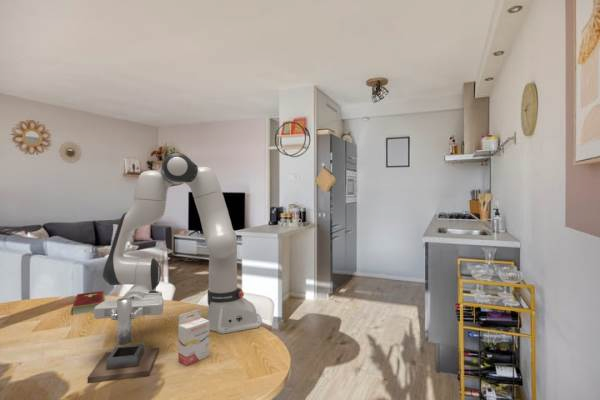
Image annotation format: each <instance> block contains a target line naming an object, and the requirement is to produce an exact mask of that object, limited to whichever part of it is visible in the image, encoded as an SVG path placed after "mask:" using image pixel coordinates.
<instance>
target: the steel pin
mask: <svg viewBox="0 0 600 400" xmlns="http://www.w3.org/2000/svg"><path fill="white" fill-rule="evenodd" d="M116 300H117V320H116V343H117V345H118V346H126V345H128V344H130V343H132V342H133V319H131V313H132V299H131V298H122V297H121V298H119V299H116Z"/></svg>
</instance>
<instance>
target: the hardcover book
mask: <svg viewBox="0 0 600 400" xmlns="http://www.w3.org/2000/svg"><path fill="white" fill-rule="evenodd" d="M105 291H106V290H99V291H92V292H84V293H77V294H76V297H75V298H74V301H73V303H72V304H73V305H72V307H71V311H70V312H71V316H74V314H75V315H81V314H82V315H83V314H88V312H89V313H94V308H95V307H96V306H97V305H98V304H100V303H102V302H104V300H105V293H106V292H105Z"/></svg>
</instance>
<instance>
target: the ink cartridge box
mask: <svg viewBox="0 0 600 400" xmlns="http://www.w3.org/2000/svg"><path fill="white" fill-rule="evenodd" d="M190 315H193V316H190ZM189 316H190V317H189ZM177 329H178V330H177V331H178V332H177V333H178V334H177V336H178V337H177V340H178V341H177V349H178V350H177V351H178V352H177V354H178V356H177V357H178V362H180V363H181V364H183V365H184V366H186V367H187V366H190V365H191V364H194V363H196V362H198V361H200V360H203V359H205V358H207V356H208V357H209V356H210V330H209V320H207V318H204V317H202V309H201V308H199V309H195V310H191V311H188V312H186V313H185V312H184V313H182V314H179V316H178V326H177Z"/></svg>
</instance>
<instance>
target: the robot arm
mask: <svg viewBox="0 0 600 400" xmlns="http://www.w3.org/2000/svg"><path fill="white" fill-rule="evenodd" d="M183 184H186V185H187V186H188V187H189V188H190V190H191V193H192V197H193V200H194V203H195V206H196V209H197V213H198V216H199V219H200V224H201V229H202V232H203V236H204V239H205V243H206V247H207V250H208V252H209V253H208V254H209V257H208V289H207V293H206V294H207V297H206V298H207V305H208V307H207V315H206V320H209V331H213V332H217V333H219V334H223V335H224V334H229V333H235V332H239V331H245V330H246V331H248V330H251V329H256V328H260V327H262V325H263V318H262V316H261V315H260V314H259V313H257V309H256V306H255V305H254V304H253V302H251V301H250V300H248V299H247V298H246V297H244V291H243V290H242V288H241V287H238V237H237V233H236V231H235V230H234V229H233V225H232V220H231V218H230V214H229V210H228V207H227V204H226V201H225V197H224V194H223V191H222V188H221V184H220V182H219V180H218V178H217V175H216V173H215V171H214V170H213V169H212V168H210V167H208V166H198V165H197V164H196V163H195V162H194V161H193V160H192V159H190V158H189V157H188V156H187V155H185V154H183V153H181V152H171V153H170V154H168V155H167V156H165V157H164V158H163V160H162V162H161V167H160V168H159V169H156V170H154V169H153V170H152V169H151V170H150V169H149V170H144V171H143V172H141V173H140V174H139V176H138V178H137V181H136V185H135V189H134V195H133V201H132V202H133V203H132V206H131V207H130V209H128V211H126V212H124V213H122V216H121V217H120V219H119V222H118V225H117V227H116V231H115V233H114V237H113V241H112V244H111V247H110V250H109V254H108V256H107V259H106V262H105V264H104V267H103V270H102V279H103V280H104V281H105V282H106V283H108V284H109V285H110V286H120V285H121V286H122V285H133V286H131V287H130V289H129V290H127V291H126V292H125V294H124V295H122V297H121V298H131V299H132V313H131V319H132V320H134V319H138V318H139V317H144V316H156V315H157V316H158V315H159V316H160V315H162V314H163V313H164V297H163V293H162V291H158V290H157V287H158V286H159V285H160V281H161V273H162V269H161V265H160V263H159V262H158V261H157V260H156V259H155V258H154V257H132V256H131V257H128V256H124V255H125V254H124V253H125V250H126V246H127V243H128V239H129V236H130V234H131V232H134V231H135V230H136V229H140V228H142V227H147V226H149V225H152V224H154V223H157V222H159V220H161V219H162V218H163V216H164V215H165V212H166V207H167V206H166V205H167V198H168V197H167V194H168V190H169V188H170V187H175V186H180V185H183ZM117 300H118V299H114V300H113V299H112V300H111V299H110V300H105V301H104V302H102V303H100V304H98V305H97V306H96V307H95V308H94V312H93V318H94V319H97V320H98V319H99V320H101V319H110V320H111V321H117Z"/></svg>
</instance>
